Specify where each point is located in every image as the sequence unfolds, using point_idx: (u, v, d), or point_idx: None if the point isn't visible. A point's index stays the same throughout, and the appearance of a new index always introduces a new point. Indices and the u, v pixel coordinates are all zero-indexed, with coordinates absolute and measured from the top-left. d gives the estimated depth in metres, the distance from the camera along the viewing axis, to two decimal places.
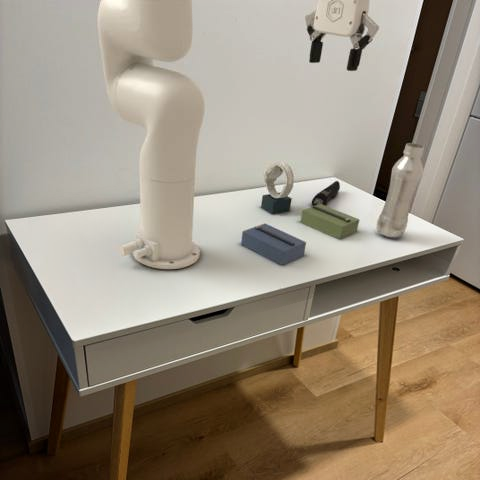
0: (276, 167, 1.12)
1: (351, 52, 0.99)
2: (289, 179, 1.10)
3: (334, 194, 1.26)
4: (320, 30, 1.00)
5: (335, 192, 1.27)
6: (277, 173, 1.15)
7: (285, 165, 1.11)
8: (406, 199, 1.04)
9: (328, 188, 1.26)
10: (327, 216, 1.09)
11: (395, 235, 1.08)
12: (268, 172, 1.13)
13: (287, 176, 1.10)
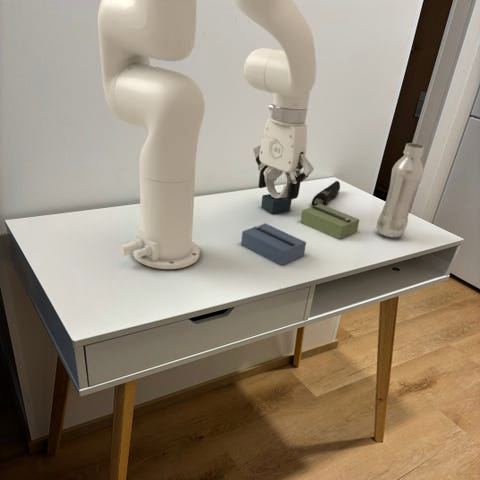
0: None
1: (290, 185, 1.10)
2: (289, 179, 1.10)
3: (334, 194, 1.26)
4: (264, 163, 1.11)
5: (335, 192, 1.27)
6: (277, 173, 1.15)
7: None
8: (406, 199, 1.04)
9: (328, 188, 1.26)
10: (327, 216, 1.09)
11: (395, 235, 1.08)
12: (268, 172, 1.13)
13: (287, 176, 1.10)
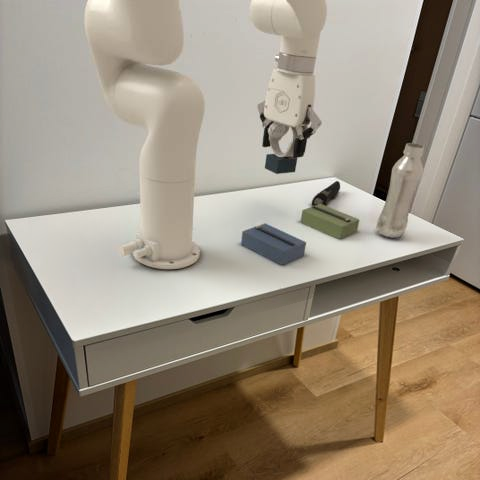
0: None
1: (296, 142, 1.04)
2: (295, 135, 1.04)
3: (334, 194, 1.26)
4: (269, 118, 1.05)
5: (335, 192, 1.27)
6: (282, 131, 1.08)
7: None
8: (406, 199, 1.04)
9: (328, 188, 1.26)
10: (327, 216, 1.09)
11: (395, 235, 1.08)
12: (273, 129, 1.07)
13: (293, 132, 1.04)
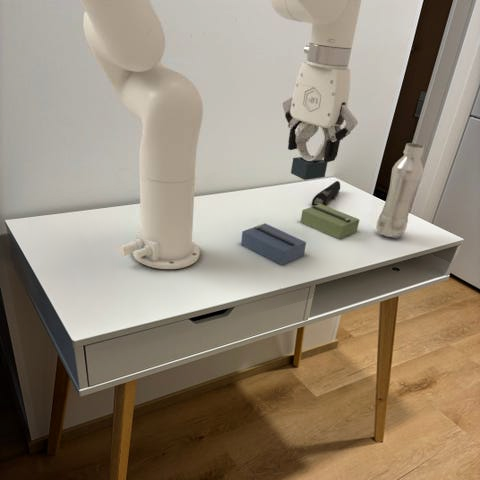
0: None
1: (328, 144, 0.92)
2: (327, 136, 0.93)
3: (334, 194, 1.26)
4: (297, 118, 0.94)
5: (335, 192, 1.27)
6: (311, 131, 0.97)
7: None
8: (406, 199, 1.04)
9: (328, 188, 1.26)
10: (327, 216, 1.09)
11: (395, 235, 1.08)
12: (301, 129, 0.95)
13: (325, 133, 0.92)
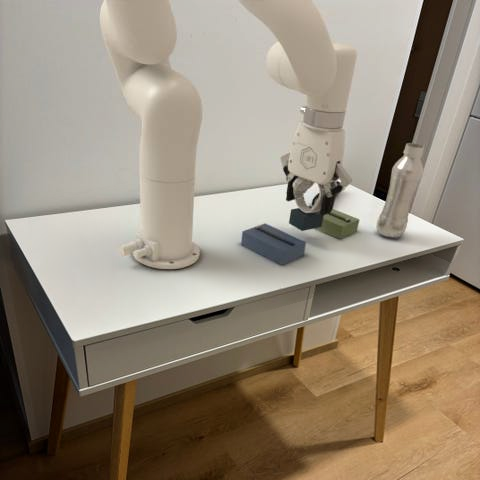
0: None
1: (324, 199, 0.96)
2: (323, 191, 0.96)
3: None
4: (294, 173, 0.97)
5: None
6: (308, 184, 1.01)
7: None
8: (406, 199, 1.04)
9: None
10: (327, 216, 1.09)
11: (395, 235, 1.08)
12: (298, 183, 0.99)
13: (321, 188, 0.96)
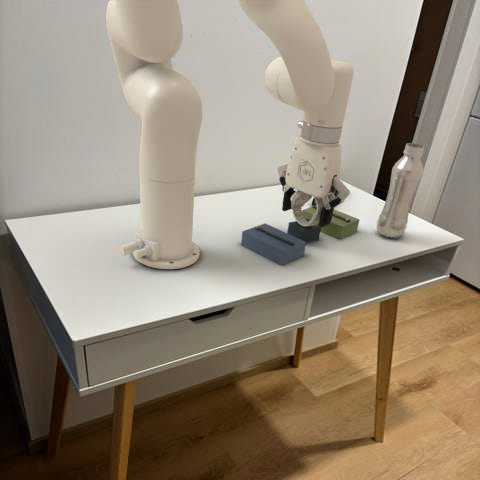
0: None
1: (322, 211, 0.97)
2: (320, 206, 0.98)
3: (334, 194, 1.26)
4: (292, 186, 0.99)
5: (336, 192, 1.27)
6: (305, 198, 1.02)
7: None
8: (406, 199, 1.04)
9: None
10: None
11: (395, 235, 1.08)
12: (296, 198, 1.01)
13: (318, 203, 0.98)
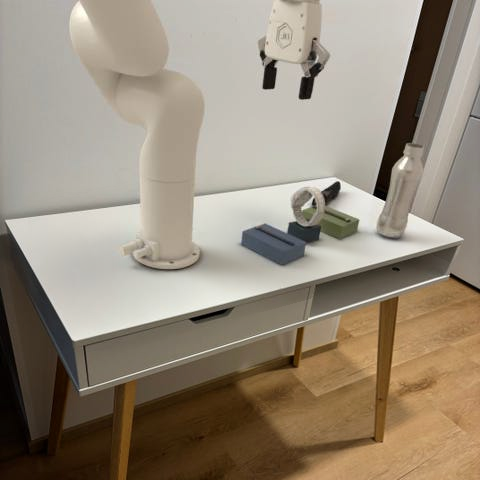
0: (305, 192, 1.00)
1: (302, 80, 0.93)
2: (320, 206, 0.98)
3: (335, 194, 1.26)
4: (271, 56, 0.94)
5: (336, 192, 1.27)
6: (305, 198, 1.02)
7: (315, 190, 0.99)
8: (406, 199, 1.04)
9: (329, 188, 1.26)
10: (327, 216, 1.09)
11: (395, 235, 1.08)
12: (296, 198, 1.01)
13: (318, 203, 0.98)
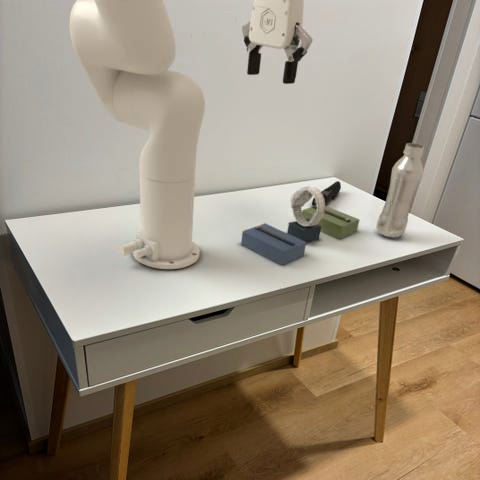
0: (305, 192, 1.00)
1: (286, 65, 0.95)
2: (320, 206, 0.98)
3: (335, 194, 1.26)
4: (255, 42, 0.97)
5: (336, 192, 1.27)
6: (305, 198, 1.02)
7: (315, 190, 0.99)
8: (406, 199, 1.04)
9: (329, 188, 1.26)
10: (327, 216, 1.09)
11: (395, 235, 1.08)
12: (296, 198, 1.01)
13: (318, 203, 0.98)
